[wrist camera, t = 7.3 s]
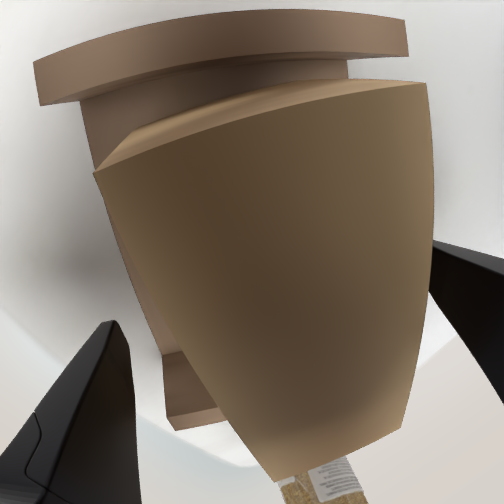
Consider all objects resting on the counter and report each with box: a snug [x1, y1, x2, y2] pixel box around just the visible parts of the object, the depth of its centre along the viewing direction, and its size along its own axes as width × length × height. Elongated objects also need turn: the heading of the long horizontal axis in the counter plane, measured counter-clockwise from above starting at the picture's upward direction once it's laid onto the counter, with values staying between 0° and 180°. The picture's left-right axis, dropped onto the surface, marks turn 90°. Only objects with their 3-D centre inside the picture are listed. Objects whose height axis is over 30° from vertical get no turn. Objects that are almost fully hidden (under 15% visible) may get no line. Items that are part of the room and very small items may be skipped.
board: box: [93, 79, 434, 482], centre depth 8 cm, size 4×10×5 cm, turn 15°
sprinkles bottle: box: [277, 456, 368, 504], centre depth 15 cm, size 5×5×13 cm
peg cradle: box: [33, 9, 409, 431], centre depth 11 cm, size 10×14×4 cm
